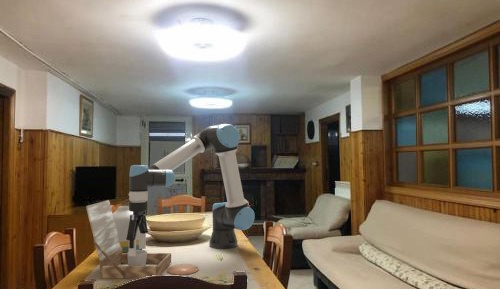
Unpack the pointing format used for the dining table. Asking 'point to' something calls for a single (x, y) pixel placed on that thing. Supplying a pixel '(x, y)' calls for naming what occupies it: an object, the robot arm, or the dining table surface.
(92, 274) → the dining table surface
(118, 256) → the cold frame
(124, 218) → the vase
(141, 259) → the cup
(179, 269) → the saucer
